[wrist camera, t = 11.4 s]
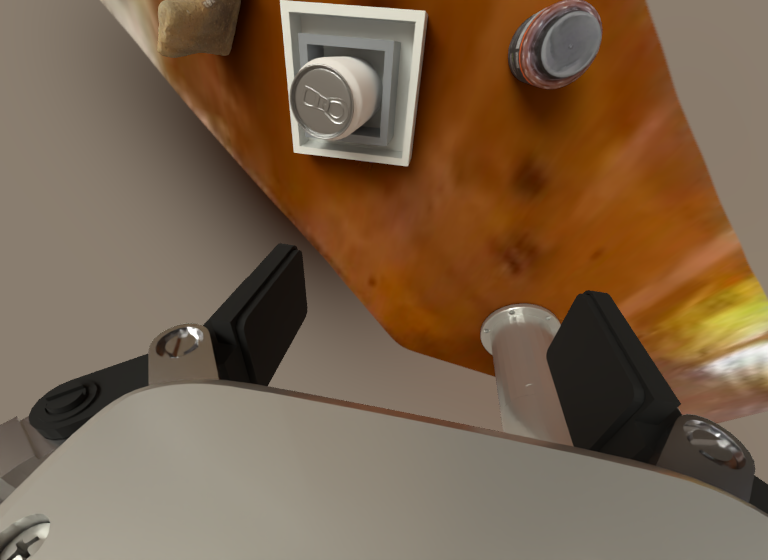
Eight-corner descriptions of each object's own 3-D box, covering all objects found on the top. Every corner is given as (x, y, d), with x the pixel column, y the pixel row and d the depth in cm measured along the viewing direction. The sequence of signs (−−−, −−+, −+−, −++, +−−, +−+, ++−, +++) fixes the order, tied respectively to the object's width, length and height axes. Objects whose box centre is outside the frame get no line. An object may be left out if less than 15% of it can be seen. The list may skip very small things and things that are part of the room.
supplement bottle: (582, 46, 32) (635, 43, 23) (528, 96, 35) (556, 111, 26) (547, -7, 30) (589, -33, 21) (494, 51, 33) (510, 50, 24)
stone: (231, 66, 38) (173, 69, 30) (194, 38, 37) (123, 34, 29) (256, -19, 33) (194, -41, 25) (214, -54, 32) (134, -89, 24)
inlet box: (428, 15, 32) (423, 8, 28) (411, 157, 41) (406, 171, 36) (296, 5, 34) (270, -3, 29) (306, 144, 42) (287, 156, 37)
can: (371, 131, 39) (345, 157, 29) (322, 107, 38) (278, 125, 28) (392, 72, 35) (369, 79, 25) (337, 45, 34) (293, 41, 25)
